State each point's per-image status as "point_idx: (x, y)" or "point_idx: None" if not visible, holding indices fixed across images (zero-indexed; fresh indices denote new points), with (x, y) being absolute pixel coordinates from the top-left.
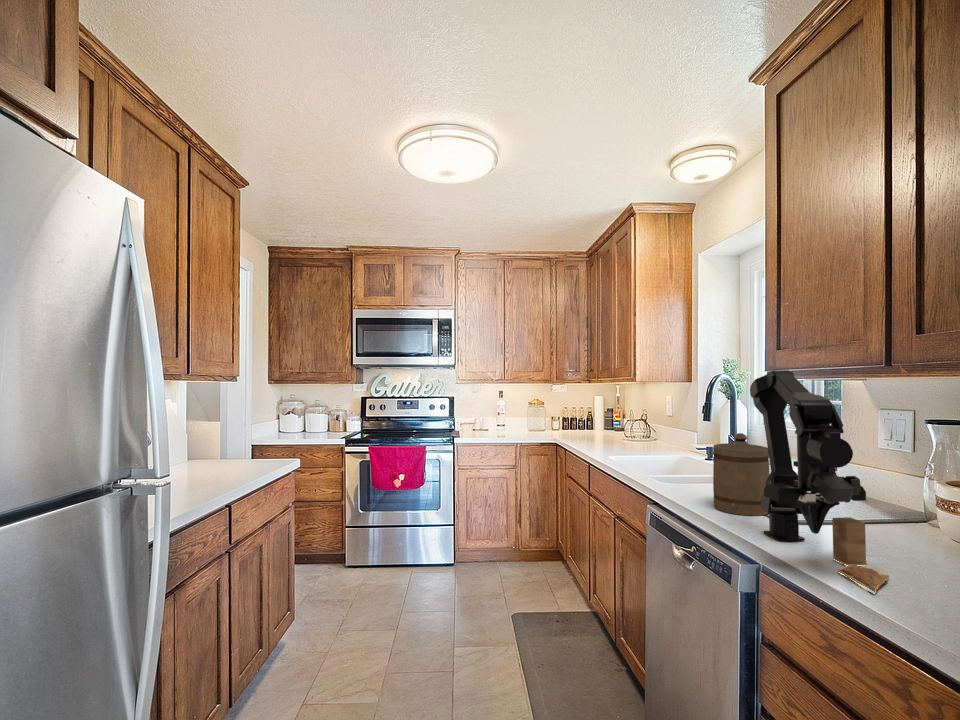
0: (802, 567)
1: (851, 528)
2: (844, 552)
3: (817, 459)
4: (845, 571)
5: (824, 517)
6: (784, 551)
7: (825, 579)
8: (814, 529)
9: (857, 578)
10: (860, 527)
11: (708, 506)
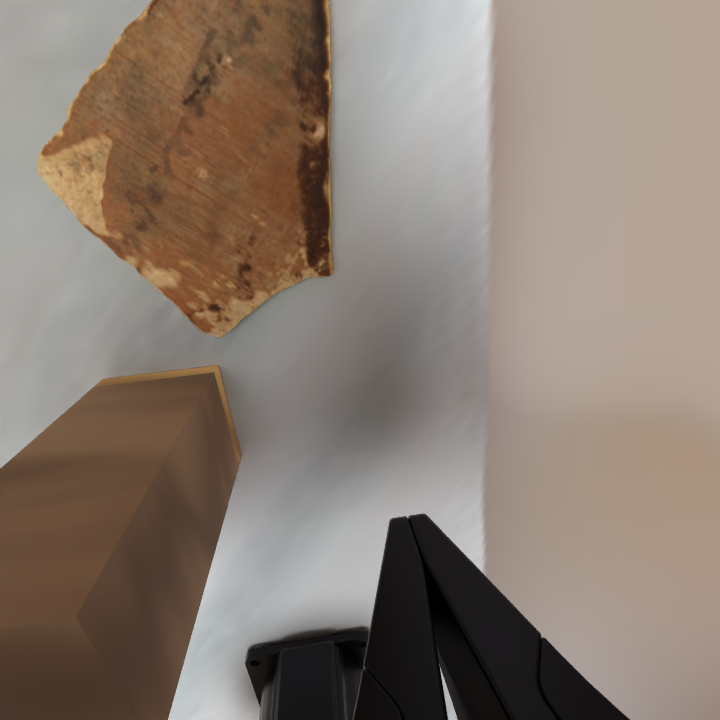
0: (466, 353)
1: (48, 564)
2: (203, 425)
3: None
4: (312, 225)
5: (372, 687)
6: None
7: (461, 177)
8: (445, 538)
9: (309, 81)
10: None
11: None
